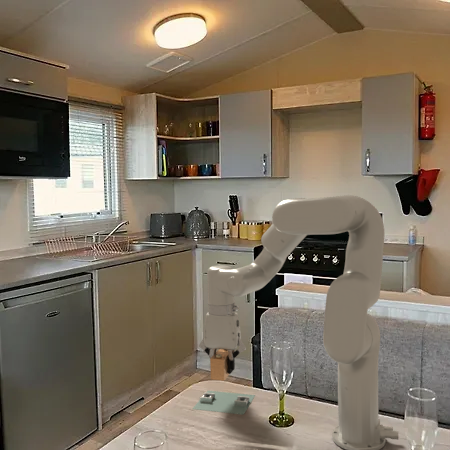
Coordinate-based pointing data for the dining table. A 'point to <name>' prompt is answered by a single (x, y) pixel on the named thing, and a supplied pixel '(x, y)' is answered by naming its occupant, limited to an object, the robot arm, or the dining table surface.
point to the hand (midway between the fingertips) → (222, 370)
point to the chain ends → (239, 402)
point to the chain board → (224, 403)
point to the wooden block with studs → (219, 365)
